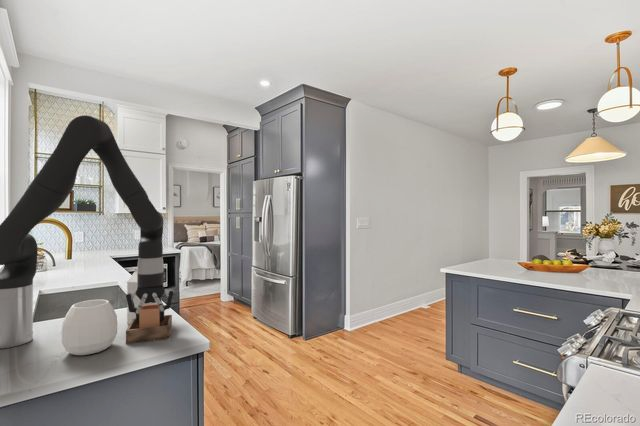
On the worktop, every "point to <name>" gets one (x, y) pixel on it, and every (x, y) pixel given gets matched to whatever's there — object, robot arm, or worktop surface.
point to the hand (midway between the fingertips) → (150, 323)
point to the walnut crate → (148, 331)
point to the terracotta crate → (149, 316)
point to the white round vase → (89, 327)
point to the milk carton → (132, 288)
